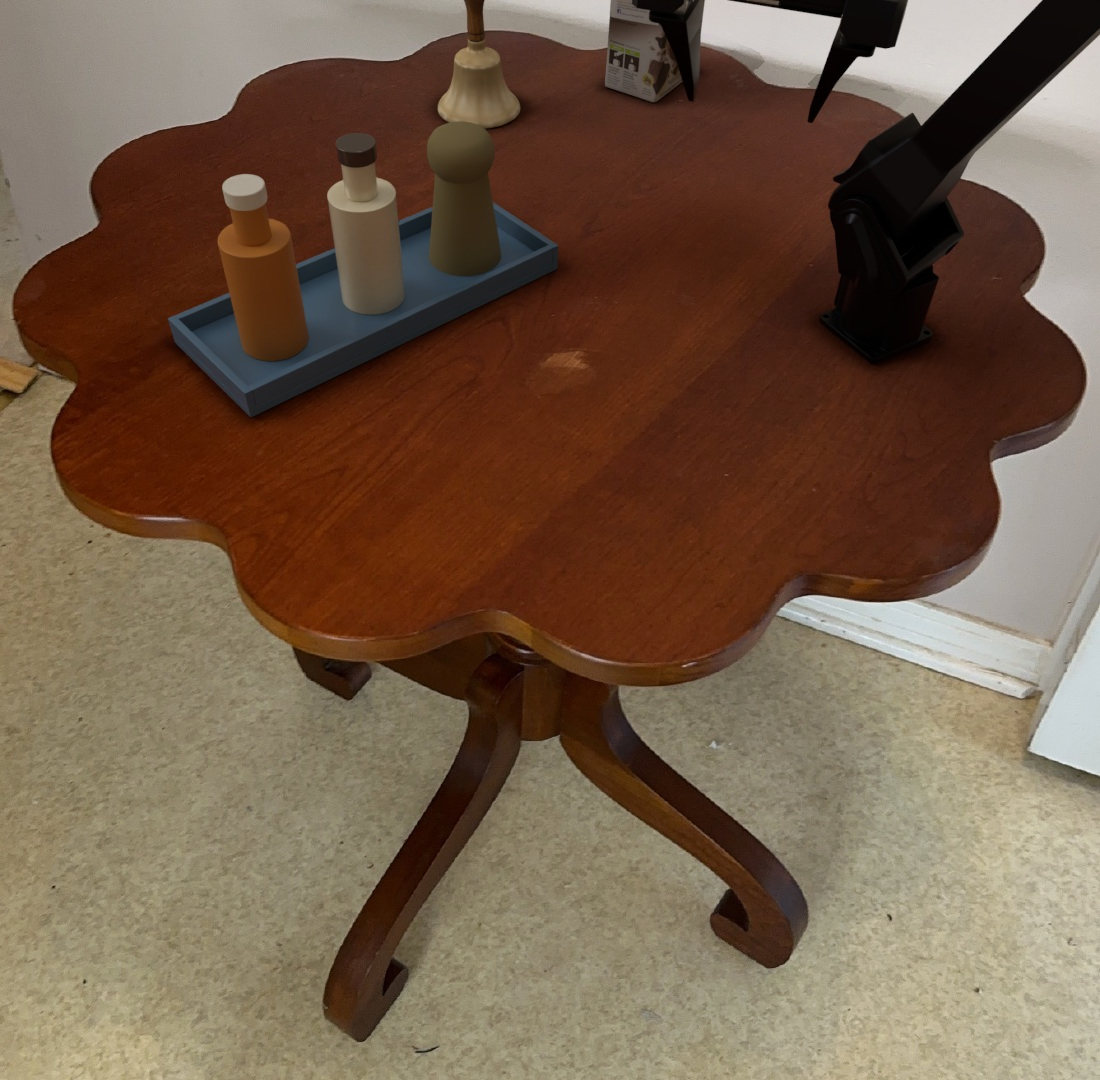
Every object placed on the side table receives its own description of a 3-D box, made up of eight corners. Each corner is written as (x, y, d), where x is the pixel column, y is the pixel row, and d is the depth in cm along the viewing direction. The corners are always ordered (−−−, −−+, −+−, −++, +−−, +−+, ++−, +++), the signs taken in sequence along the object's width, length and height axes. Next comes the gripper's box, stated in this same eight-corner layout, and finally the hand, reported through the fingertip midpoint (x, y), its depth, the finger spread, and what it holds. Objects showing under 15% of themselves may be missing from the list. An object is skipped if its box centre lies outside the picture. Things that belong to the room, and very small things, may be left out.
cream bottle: (416, 303, 86) (403, 149, 77) (357, 322, 84) (337, 167, 75) (388, 271, 89) (373, 119, 79) (331, 288, 87) (308, 135, 78)
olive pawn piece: (514, 263, 90) (514, 138, 82) (449, 284, 88) (442, 158, 80) (479, 228, 94) (475, 104, 85) (416, 247, 91) (406, 122, 83)
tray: (474, 212, 97) (473, 188, 95) (557, 269, 91) (558, 245, 89) (174, 342, 84) (167, 318, 82) (250, 418, 78) (244, 393, 76)
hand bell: (459, 136, 106) (452, -39, 94) (423, 100, 110) (412, -71, 99) (535, 118, 108) (537, -55, 97) (497, 83, 113) (494, -85, 101)
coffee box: (656, 105, 111) (673, -67, 99) (602, 87, 113) (612, -83, 101) (699, 71, 116) (719, -96, 104) (646, 55, 118) (660, -110, 106)
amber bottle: (319, 348, 82) (292, 192, 73) (256, 369, 80) (220, 212, 71) (293, 313, 85) (265, 158, 75) (232, 333, 83) (194, 176, 74)
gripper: (944, -138, 75) (887, 85, 87) (681, -171, 79) (660, 46, 90) (928, -83, 68) (868, 151, 79) (639, -123, 72) (622, 106, 83)
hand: (750, 109), depth 83 cm, fingers open, 9 cm apart
